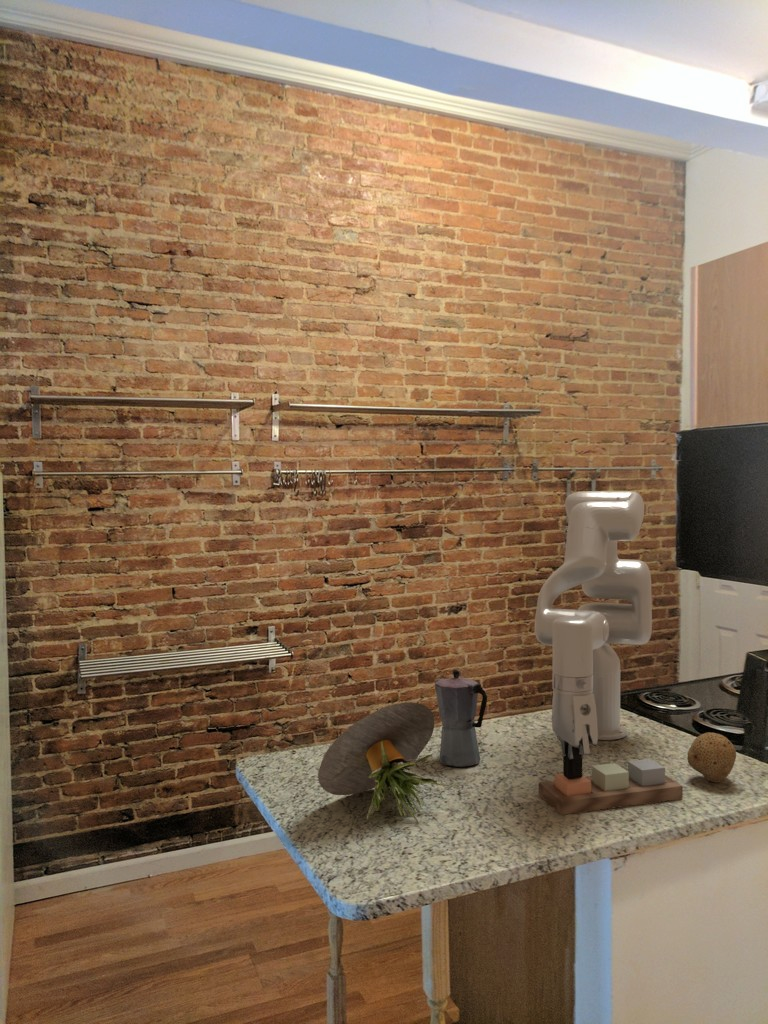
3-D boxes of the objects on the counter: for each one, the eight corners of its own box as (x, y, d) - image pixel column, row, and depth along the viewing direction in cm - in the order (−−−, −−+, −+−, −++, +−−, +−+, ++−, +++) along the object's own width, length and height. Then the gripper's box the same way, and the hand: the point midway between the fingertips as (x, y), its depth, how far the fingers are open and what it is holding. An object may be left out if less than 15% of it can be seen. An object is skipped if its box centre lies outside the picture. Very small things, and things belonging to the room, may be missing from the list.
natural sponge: (687, 786, 157) (687, 737, 157) (686, 770, 166) (687, 724, 165) (737, 792, 154) (737, 742, 154) (734, 776, 163) (734, 728, 162)
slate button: (642, 790, 152) (642, 770, 152) (627, 781, 157) (627, 761, 157) (664, 787, 153) (665, 767, 153) (649, 778, 158) (649, 758, 158)
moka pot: (449, 747, 182) (448, 661, 181) (503, 764, 171) (502, 673, 170) (421, 758, 175) (420, 669, 174) (475, 776, 164) (474, 681, 163)
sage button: (605, 795, 150) (605, 774, 150) (591, 785, 155) (591, 765, 155) (628, 792, 151) (628, 772, 151) (614, 782, 156) (614, 763, 156)
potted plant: (318, 868, 141) (377, 794, 127) (292, 779, 152) (343, 703, 139) (431, 848, 154) (494, 779, 141) (399, 768, 166) (454, 697, 152)
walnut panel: (561, 814, 145) (561, 801, 145) (538, 794, 154) (538, 782, 154) (682, 798, 152) (682, 785, 152) (653, 780, 161) (653, 768, 161)
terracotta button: (567, 805, 148) (567, 784, 148) (554, 795, 153) (554, 774, 152) (591, 802, 149) (591, 781, 149) (578, 792, 154) (578, 772, 154)
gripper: (611, 691, 144) (611, 789, 145) (571, 671, 158) (571, 761, 159) (574, 694, 142) (574, 794, 143) (537, 674, 156) (537, 765, 157)
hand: (572, 776), depth 151 cm, fingers closed
